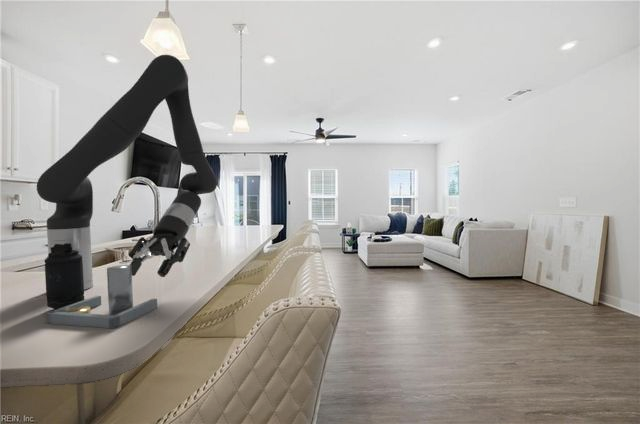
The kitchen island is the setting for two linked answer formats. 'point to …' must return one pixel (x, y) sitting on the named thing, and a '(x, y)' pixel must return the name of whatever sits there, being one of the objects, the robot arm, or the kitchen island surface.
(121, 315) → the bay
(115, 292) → the post
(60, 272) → the black shouldered canister
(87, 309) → the washer
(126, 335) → the kitchen island surface
